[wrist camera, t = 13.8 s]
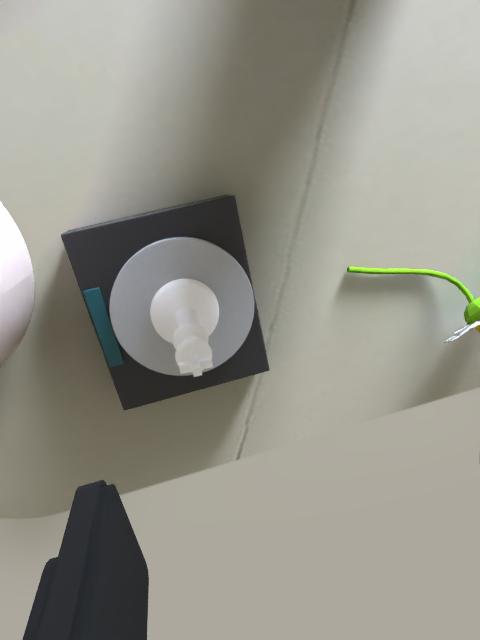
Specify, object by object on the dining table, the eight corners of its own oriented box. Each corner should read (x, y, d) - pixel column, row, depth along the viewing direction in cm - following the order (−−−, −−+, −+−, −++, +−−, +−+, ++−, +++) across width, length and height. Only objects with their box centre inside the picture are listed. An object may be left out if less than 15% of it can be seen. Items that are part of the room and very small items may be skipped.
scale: (68, 230, 29) (57, 236, 26) (228, 193, 31) (236, 195, 28) (126, 395, 34) (122, 416, 31) (262, 358, 36) (272, 375, 33)
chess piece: (224, 335, 31) (252, 403, 21) (158, 349, 30) (158, 425, 21) (212, 272, 29) (238, 315, 20) (143, 285, 28) (135, 337, 19)
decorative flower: (388, 315, 28) (567, 316, 31) (369, 239, 31) (535, 247, 34) (343, 354, 35) (492, 352, 38) (330, 289, 38) (471, 292, 41)
